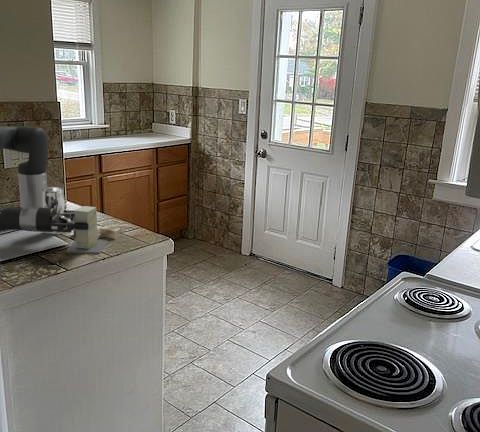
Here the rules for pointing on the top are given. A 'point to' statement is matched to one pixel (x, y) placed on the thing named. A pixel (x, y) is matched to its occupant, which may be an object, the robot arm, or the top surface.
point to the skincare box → (89, 236)
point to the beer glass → (53, 201)
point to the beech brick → (110, 232)
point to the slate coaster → (93, 250)
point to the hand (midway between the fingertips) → (91, 221)
